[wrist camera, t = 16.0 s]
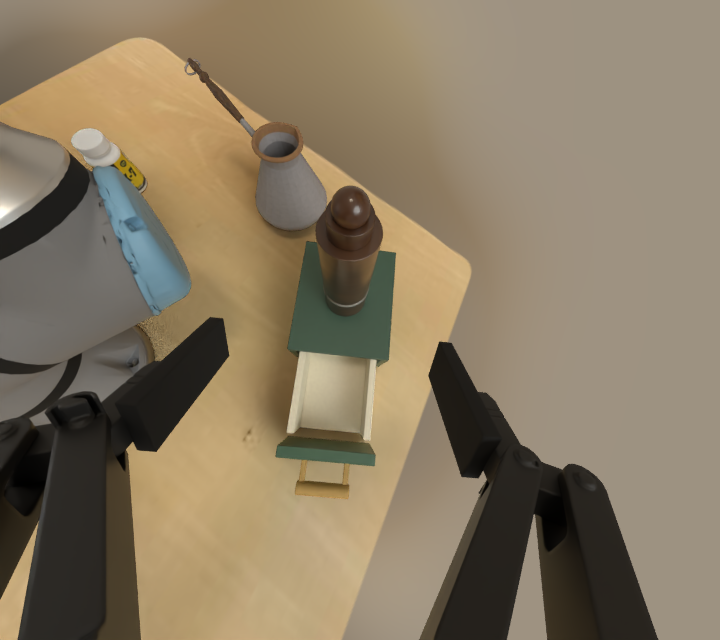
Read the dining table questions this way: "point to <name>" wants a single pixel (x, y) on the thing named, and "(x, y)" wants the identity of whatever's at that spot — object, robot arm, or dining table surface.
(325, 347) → the cabinet
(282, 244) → the dining table surface
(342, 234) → the pepper mill
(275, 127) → the coffee pot
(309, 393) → the drawer
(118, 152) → the supplement bottle
